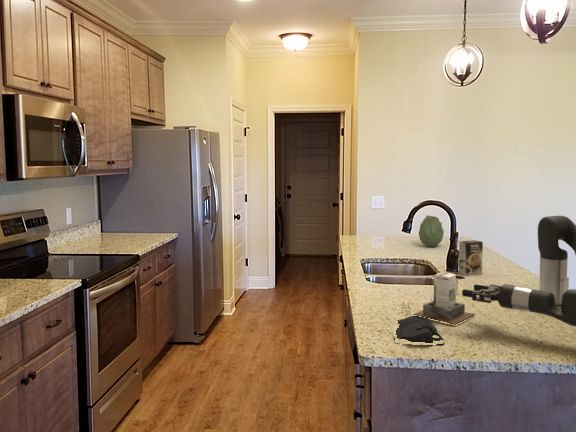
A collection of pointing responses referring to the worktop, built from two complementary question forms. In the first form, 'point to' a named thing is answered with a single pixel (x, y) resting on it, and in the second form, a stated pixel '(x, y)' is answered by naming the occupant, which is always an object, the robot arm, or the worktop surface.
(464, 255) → the coffee box
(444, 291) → the syrup box
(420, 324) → the dark slate chunk
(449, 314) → the socket board
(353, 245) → the worktop surface
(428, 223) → the cabbage
